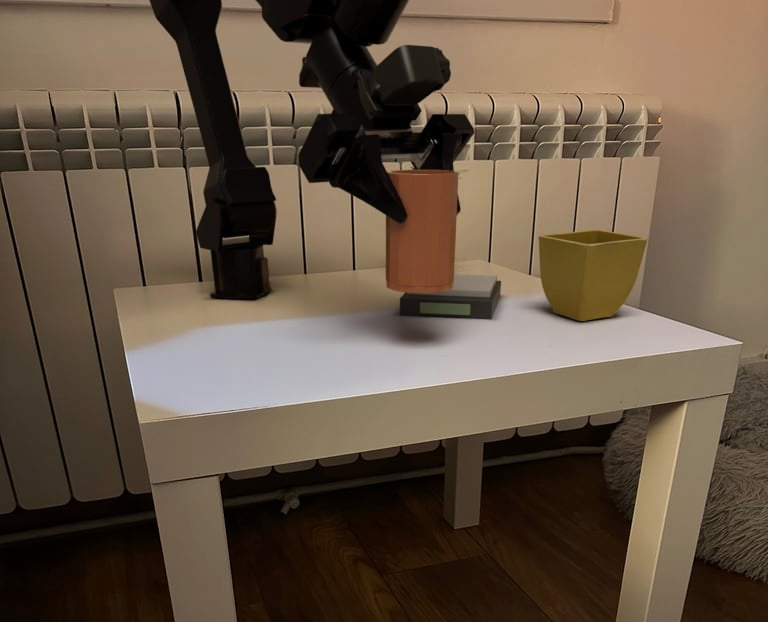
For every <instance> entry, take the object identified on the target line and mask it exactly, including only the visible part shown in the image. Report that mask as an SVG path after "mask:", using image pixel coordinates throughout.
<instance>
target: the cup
mask: <svg viewBox="0 0 768 622" xmlns="http://www.w3.org/2000/svg"><path fill="white" fill-rule="evenodd" d="M392 170H393V171H392ZM392 170H386V171H387V173H388V175H389V177H390V179H391V181H392V183H393V184H394V186H395V188H396V190H397V192H398V194H399V196H400V198H401V200H402V202H403V205H404V207H405V210H406V212H407V215H408V216H407V218H406V220H405V221H404V223H401V224H400V223H398V222H396V221H394V220H393V219H391V218H390V217H388V216H386V215H385V283H386V284H385V286H386V288H387V289H389V290H391V291H395V292H400V293H405V292H406V293H436V292H443V291H447V290H450V289H452V288H453V287H454V274H455V266H456V265H455V264H456V244H457V243H456V241H457V220H458V219H457V218H458V217H457V216H458V215H457V197H459V179H458V178H459V174H458V173H460V172H458V171H459V170H454V171H452V170H413V169H392Z"/></svg>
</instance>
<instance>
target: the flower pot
mask: <svg viewBox="0 0 768 622" xmlns="http://www.w3.org/2000/svg"><path fill="white" fill-rule="evenodd" d="M647 242H648V237H644V236H639V235H633V234H627V233H622V232H621V233H620V232H615V231H609V230H602V229H586V230H578V231H569V232H560V233H559V232H558V233H557V232H556V233H547V234H539V235H538V251H539V271H540V273H539V274H540V280H541V287H542V289H543V292H544V295H545V298H546V300H547V303H548V305H549V306H550V308H551V309H552V312H554V314H557V315H560V316H564V317H567V318H570V319H571V320H576V321H579V322H587V321H590V320H597V319H603V318H609V317H613V316H614V315H615V314H616V313H617V312H618V311H619V310H620V309H621V307H622V306H623V304H624V303H625V302H626V300H627V299H628V297H629V296H630V294H631V292H632V290H633V288H634V286H635V283H636V282H637V278H638V275H639V270H640V268H641V264H642V261H643V256H644V254H645V249H646V247H647Z"/></svg>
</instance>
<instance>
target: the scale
mask: <svg viewBox="0 0 768 622" xmlns="http://www.w3.org/2000/svg"><path fill="white" fill-rule="evenodd" d="M501 290H502V280H498V275H493V274H491V275H488V274H487V275H486V274H459V273H454V287H453V288H452V289H450V290H447V291H443V292H436V293H406V292H403V294H402V295H401V296H400V297H399V315H400V316H418V317H419V316H420V317H438V318H439V317H440V318H460V319H461V318H462V319H483V320H484V319H485V320H486V319H487V320H491V319H492V318H493V315H494V313H495V310H496V308H497V306H498V303H499V300H500V298H501Z"/></svg>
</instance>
